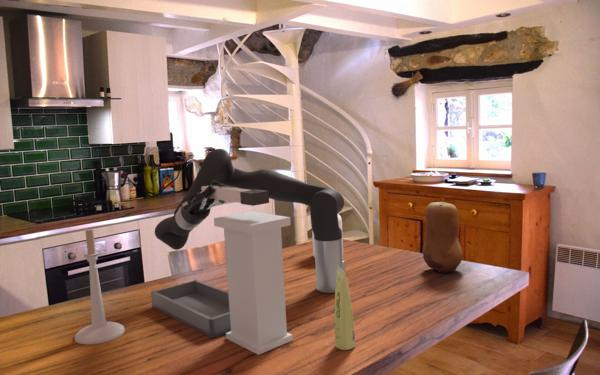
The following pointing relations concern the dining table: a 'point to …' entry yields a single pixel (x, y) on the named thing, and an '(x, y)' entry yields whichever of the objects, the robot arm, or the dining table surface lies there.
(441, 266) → the butternut squash
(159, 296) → the bin
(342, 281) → the tube
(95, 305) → the candlestick
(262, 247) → the stand
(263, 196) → the plug rod
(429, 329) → the dining table surface
